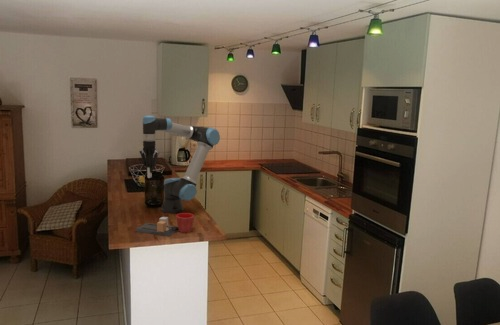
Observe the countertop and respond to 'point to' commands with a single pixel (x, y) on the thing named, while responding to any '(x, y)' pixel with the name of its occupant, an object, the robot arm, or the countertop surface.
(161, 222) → the fader
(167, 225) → the fader
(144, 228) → the console
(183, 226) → the flower pot
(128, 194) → the countertop surface
